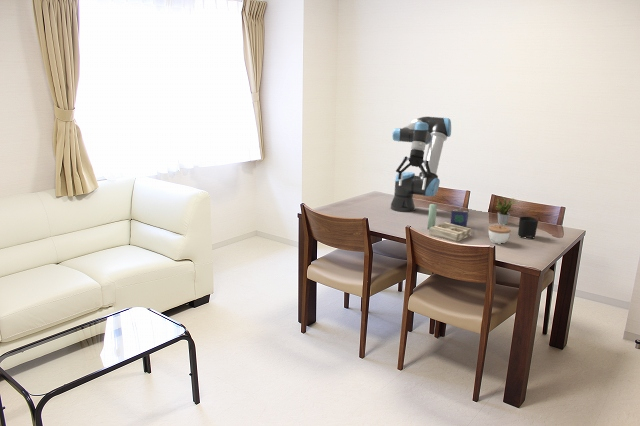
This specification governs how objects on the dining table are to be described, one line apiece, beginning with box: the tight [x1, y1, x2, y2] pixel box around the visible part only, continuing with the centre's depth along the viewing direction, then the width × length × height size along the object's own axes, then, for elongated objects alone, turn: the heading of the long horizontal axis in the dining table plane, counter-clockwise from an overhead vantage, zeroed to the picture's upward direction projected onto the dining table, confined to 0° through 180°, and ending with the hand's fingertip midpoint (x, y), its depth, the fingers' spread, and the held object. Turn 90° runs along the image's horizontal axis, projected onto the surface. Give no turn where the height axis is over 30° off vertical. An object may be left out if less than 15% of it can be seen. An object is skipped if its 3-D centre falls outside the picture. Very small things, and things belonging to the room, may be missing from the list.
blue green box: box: [450, 207, 469, 228], centre depth 293 cm, size 9×3×11 cm, turn 74°
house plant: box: [495, 196, 521, 225], centre depth 300 cm, size 14×14×16 cm
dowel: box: [426, 203, 438, 231], centre depth 284 cm, size 4×4×14 cm
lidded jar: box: [488, 224, 512, 245], centre depth 266 cm, size 11×11×9 cm
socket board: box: [428, 221, 472, 243], centre depth 276 cm, size 16×16×4 cm
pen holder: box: [517, 216, 539, 239], centre depth 277 cm, size 9×9×10 cm
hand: (411, 187), depth 286 cm, fingers open, 13 cm apart
